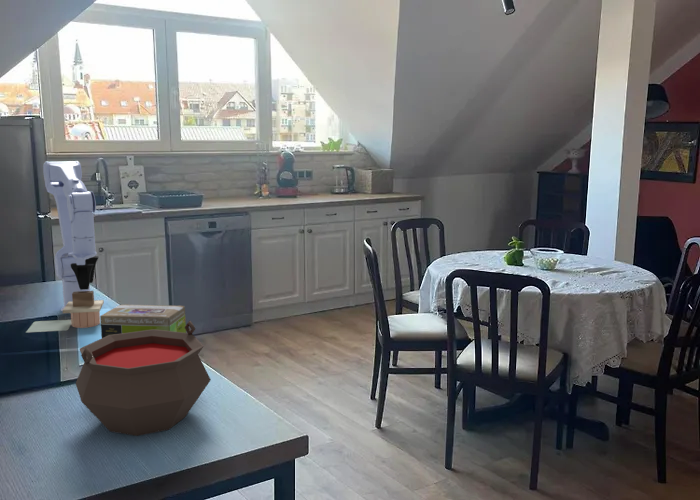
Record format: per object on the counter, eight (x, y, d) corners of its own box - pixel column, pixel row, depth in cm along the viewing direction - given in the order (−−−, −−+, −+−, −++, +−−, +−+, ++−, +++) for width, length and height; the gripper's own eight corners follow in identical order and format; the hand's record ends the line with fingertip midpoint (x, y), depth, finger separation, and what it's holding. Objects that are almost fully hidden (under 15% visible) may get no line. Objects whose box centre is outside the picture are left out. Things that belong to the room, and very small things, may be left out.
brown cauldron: (162, 383, 138) (158, 307, 135) (238, 415, 123) (237, 331, 120) (49, 421, 120) (43, 334, 117) (123, 464, 105) (118, 366, 102)
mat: (34, 323, 179) (34, 321, 179) (74, 321, 181) (73, 319, 181) (25, 334, 170) (25, 332, 169) (67, 332, 172) (67, 330, 172)
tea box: (188, 369, 147) (186, 304, 144) (172, 386, 137) (169, 317, 134) (123, 366, 148) (120, 302, 145) (102, 383, 138) (98, 314, 136)
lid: (68, 304, 180) (67, 289, 179) (103, 302, 182) (102, 287, 181) (62, 313, 171) (61, 297, 170) (99, 311, 173) (98, 295, 173)
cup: (74, 323, 180) (73, 305, 179) (101, 321, 182) (100, 303, 181) (69, 330, 173) (68, 312, 172) (98, 328, 175) (97, 310, 174)
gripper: (72, 232, 184) (75, 280, 186) (62, 241, 170) (66, 292, 173) (98, 232, 186) (101, 279, 188) (91, 240, 172) (94, 291, 174)
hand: (86, 285), depth 180 cm, fingers open, 7 cm apart
